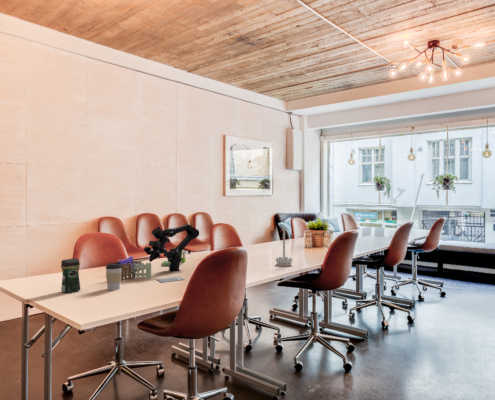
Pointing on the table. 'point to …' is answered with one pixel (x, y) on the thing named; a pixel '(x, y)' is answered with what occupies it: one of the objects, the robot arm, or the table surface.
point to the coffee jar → (70, 275)
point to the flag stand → (284, 260)
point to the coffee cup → (113, 276)
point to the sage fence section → (142, 266)
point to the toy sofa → (129, 260)
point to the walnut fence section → (125, 268)
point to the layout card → (170, 279)
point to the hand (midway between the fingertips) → (149, 261)
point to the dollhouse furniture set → (179, 262)
